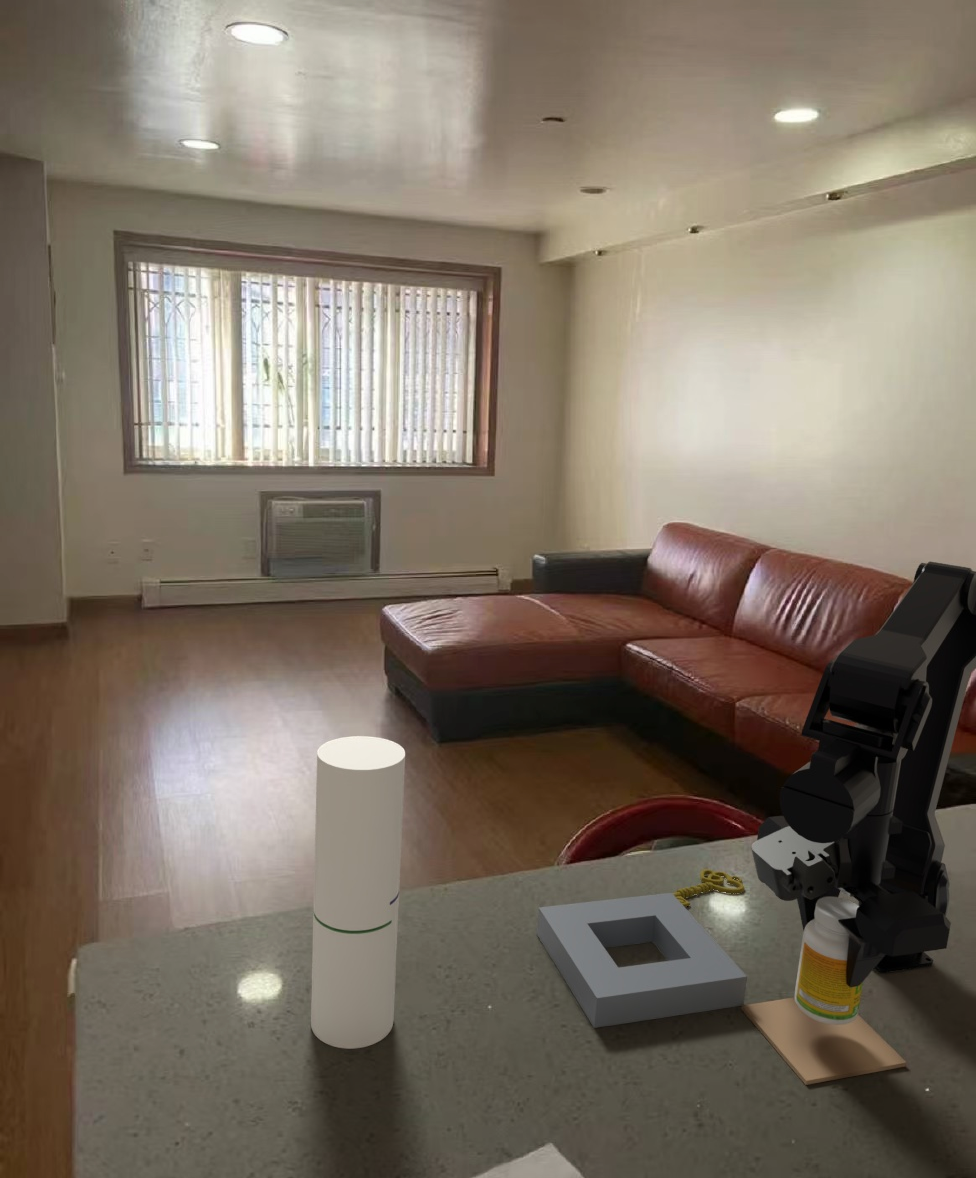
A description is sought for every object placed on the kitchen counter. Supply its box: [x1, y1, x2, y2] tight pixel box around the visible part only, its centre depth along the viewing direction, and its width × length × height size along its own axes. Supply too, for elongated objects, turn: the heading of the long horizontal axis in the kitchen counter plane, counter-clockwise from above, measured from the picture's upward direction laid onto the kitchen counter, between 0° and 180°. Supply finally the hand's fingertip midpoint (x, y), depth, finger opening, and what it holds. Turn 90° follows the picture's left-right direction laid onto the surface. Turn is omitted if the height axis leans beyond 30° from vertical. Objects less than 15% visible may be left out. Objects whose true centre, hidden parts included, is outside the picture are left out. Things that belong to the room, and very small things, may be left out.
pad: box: [741, 996, 907, 1086], centre depth 87 cm, size 10×10×1 cm
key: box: [671, 868, 745, 908], centre depth 111 cm, size 12×1×5 cm
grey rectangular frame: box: [536, 892, 748, 1029], centre depth 96 cm, size 15×15×3 cm
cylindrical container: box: [310, 735, 406, 1050], centre depth 83 cm, size 7×7×25 cm
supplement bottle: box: [794, 896, 864, 1025], centre depth 86 cm, size 5×5×10 cm
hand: (832, 965), depth 86 cm, fingers closed on supplement bottle, 5 cm apart
